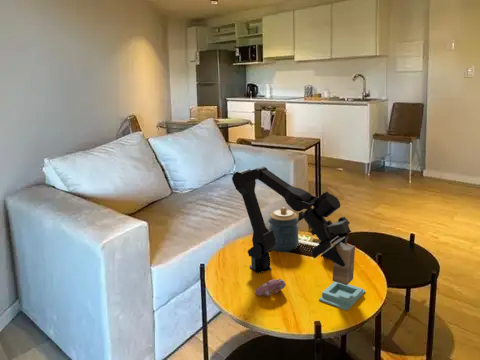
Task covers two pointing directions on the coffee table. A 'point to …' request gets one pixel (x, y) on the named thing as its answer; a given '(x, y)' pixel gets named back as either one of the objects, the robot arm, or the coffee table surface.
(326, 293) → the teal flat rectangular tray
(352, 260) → the block
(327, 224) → the robot arm
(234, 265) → the coffee table surface
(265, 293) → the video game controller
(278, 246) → the canister
